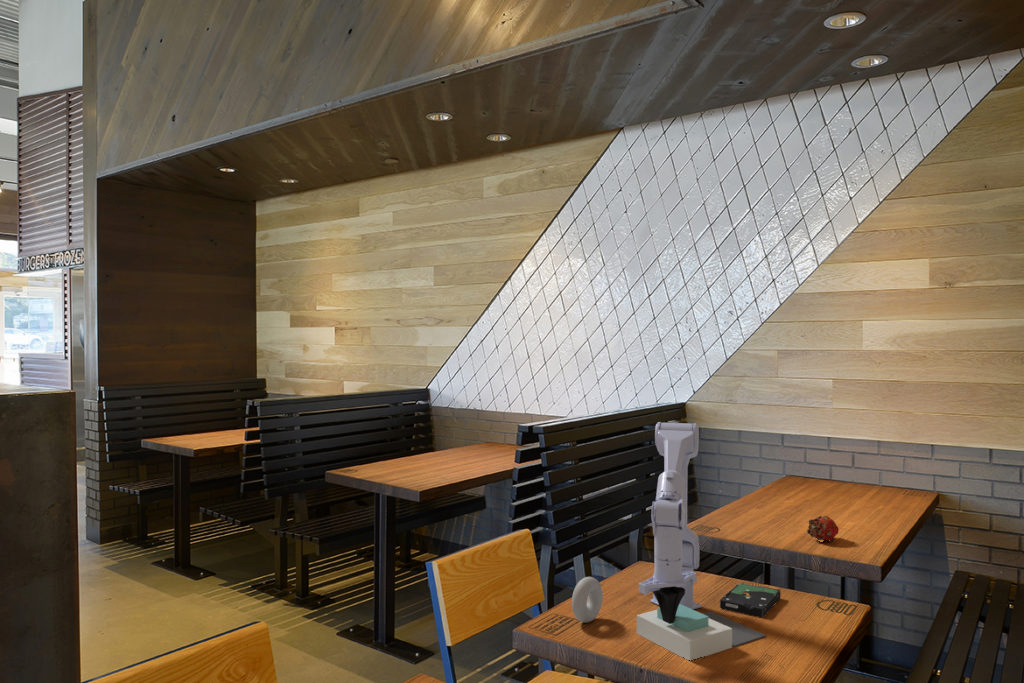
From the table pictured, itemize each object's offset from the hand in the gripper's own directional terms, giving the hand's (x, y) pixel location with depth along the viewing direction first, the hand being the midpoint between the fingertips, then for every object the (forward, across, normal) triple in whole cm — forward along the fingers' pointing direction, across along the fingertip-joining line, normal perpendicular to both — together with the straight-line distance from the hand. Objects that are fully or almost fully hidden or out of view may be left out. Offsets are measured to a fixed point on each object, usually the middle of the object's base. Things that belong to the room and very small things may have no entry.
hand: (668, 621), depth 154 cm
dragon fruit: (+5, +94, +31) cm, 99 cm away
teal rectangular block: (+1, +4, 0) cm, 4 cm away
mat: (+5, +16, 0) cm, 16 cm away
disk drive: (+6, +33, +7) cm, 34 cm away
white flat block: (+5, +4, 0) cm, 6 cm away
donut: (+5, -7, +19) cm, 21 cm away
